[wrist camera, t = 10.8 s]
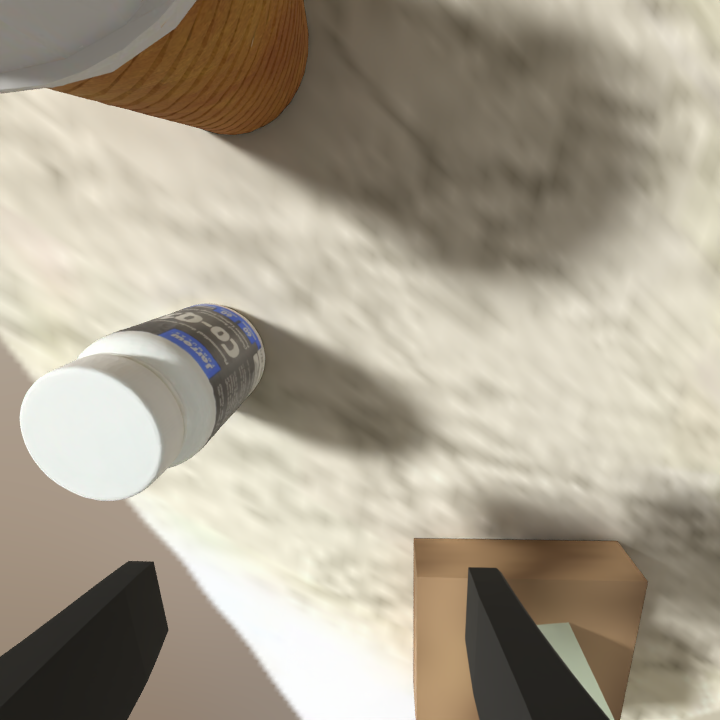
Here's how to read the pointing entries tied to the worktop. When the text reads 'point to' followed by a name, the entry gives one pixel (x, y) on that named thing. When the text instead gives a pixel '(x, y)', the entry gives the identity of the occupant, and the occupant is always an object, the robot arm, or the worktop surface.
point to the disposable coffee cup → (161, 56)
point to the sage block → (574, 659)
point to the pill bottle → (141, 400)
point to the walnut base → (540, 599)
